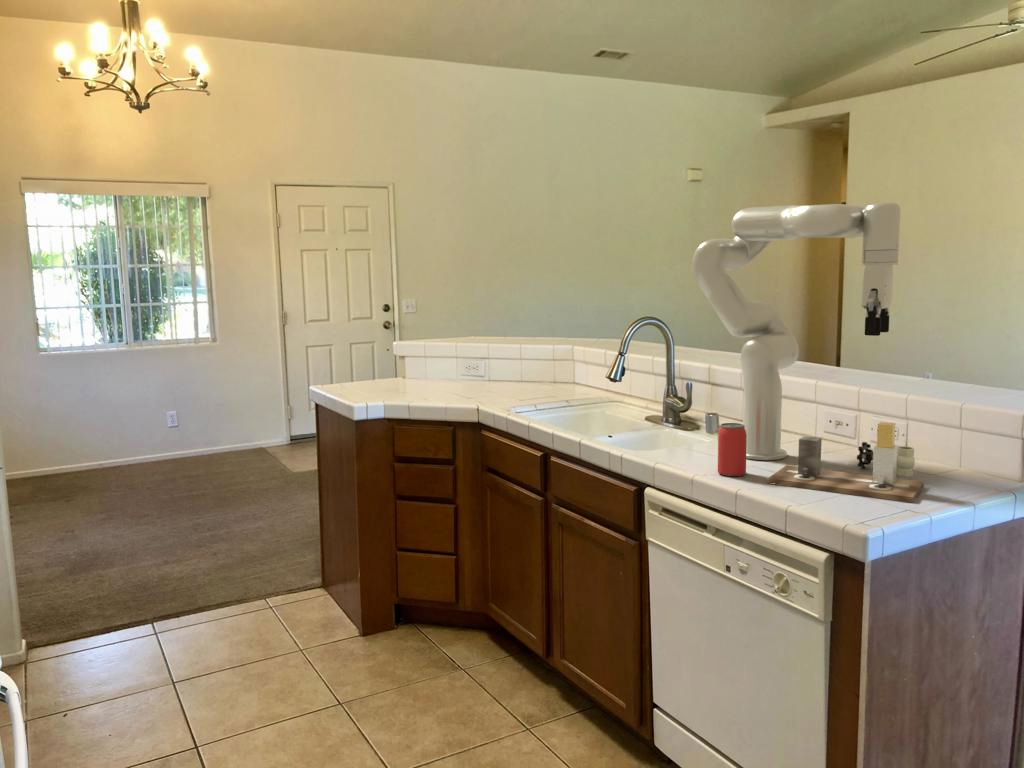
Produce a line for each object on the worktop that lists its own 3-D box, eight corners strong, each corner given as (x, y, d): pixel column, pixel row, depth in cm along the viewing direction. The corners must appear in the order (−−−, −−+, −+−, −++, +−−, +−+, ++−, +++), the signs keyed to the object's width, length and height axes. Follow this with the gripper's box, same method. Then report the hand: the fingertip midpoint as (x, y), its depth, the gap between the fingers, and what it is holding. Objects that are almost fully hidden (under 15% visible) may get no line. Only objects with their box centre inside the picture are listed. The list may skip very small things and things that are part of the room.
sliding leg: (870, 484, 172) (872, 426, 170) (876, 478, 177) (878, 421, 175) (890, 487, 170) (892, 428, 168) (895, 480, 175) (898, 423, 173)
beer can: (733, 478, 186) (733, 428, 184) (711, 473, 191) (712, 424, 190) (751, 474, 189) (752, 425, 188) (730, 469, 195) (731, 421, 193)
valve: (918, 474, 187) (867, 465, 195) (920, 446, 186) (868, 439, 195) (908, 479, 182) (855, 470, 191) (909, 451, 181) (857, 444, 190)
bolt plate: (767, 483, 181) (768, 441, 180) (786, 470, 193) (787, 431, 191) (912, 502, 164) (914, 457, 163) (923, 487, 175) (925, 444, 174)
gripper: (870, 259, 189) (867, 330, 192) (853, 259, 175) (850, 336, 178) (904, 258, 185) (901, 331, 187) (890, 258, 171) (887, 337, 173)
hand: (876, 333), depth 182 cm, fingers open, 9 cm apart
